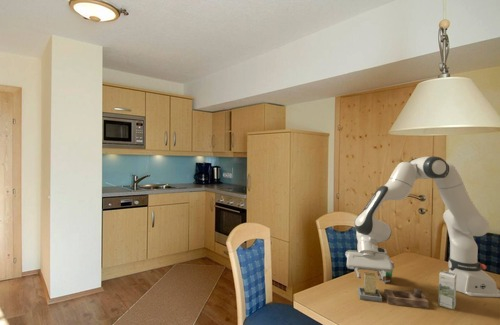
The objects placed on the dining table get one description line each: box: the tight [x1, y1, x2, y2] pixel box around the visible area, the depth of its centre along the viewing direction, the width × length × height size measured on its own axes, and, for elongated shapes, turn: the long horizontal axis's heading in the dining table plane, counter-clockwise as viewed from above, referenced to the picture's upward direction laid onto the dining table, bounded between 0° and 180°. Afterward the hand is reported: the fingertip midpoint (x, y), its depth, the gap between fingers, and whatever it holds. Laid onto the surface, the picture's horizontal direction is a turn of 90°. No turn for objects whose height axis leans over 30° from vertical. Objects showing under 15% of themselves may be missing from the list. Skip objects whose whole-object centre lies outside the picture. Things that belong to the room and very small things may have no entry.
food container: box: [376, 260, 395, 284], centre depth 153 cm, size 12×6×10 cm, turn 179°
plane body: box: [383, 288, 429, 310], centre depth 130 cm, size 16×8×6 cm, turn 76°
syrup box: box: [438, 270, 457, 311], centre depth 127 cm, size 6×6×14 cm
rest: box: [357, 286, 383, 303], centre depth 135 cm, size 9×8×2 cm
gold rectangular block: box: [363, 272, 377, 296], centre depth 135 cm, size 4×4×10 cm
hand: (370, 278), depth 135 cm, fingers open, 8 cm apart
